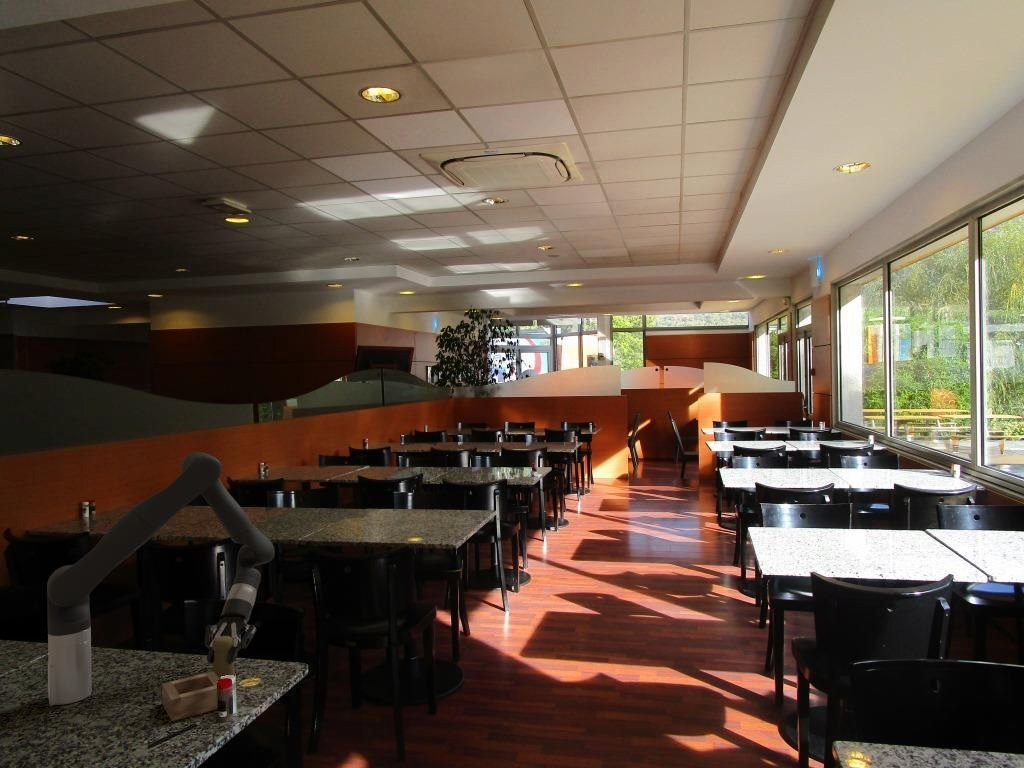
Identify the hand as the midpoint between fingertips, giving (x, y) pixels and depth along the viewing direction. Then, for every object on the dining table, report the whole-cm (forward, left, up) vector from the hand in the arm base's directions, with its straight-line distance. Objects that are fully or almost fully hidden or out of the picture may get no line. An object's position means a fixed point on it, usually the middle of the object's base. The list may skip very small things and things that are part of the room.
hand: (219, 662), depth 185 cm
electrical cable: (-16, -25, -6) cm, 30 cm away
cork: (+1, +1, -5) cm, 6 cm away
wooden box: (-9, -11, -5) cm, 15 cm away
